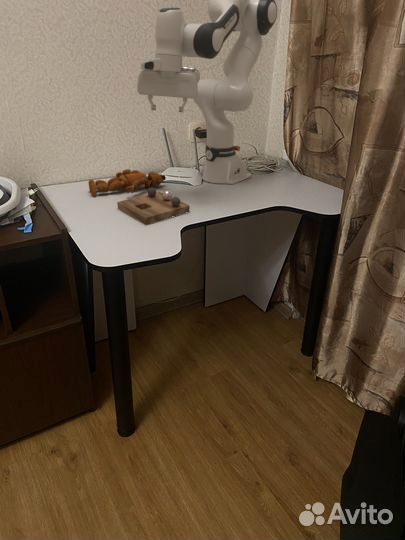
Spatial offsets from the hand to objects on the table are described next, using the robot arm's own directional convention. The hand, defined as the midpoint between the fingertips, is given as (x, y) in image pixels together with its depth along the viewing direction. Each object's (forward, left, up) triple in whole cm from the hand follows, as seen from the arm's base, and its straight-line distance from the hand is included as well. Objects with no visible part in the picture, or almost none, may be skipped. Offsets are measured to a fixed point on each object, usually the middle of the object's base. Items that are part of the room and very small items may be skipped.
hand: (167, 111), depth 135 cm
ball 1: (+8, +1, -27) cm, 28 cm away
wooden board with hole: (+12, +7, -31) cm, 34 cm away
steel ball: (+6, +7, -27) cm, 28 cm away
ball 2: (+7, +14, -27) cm, 31 cm away
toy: (+8, -17, -31) cm, 36 cm away
